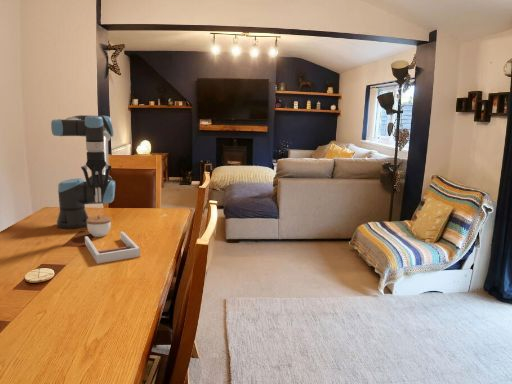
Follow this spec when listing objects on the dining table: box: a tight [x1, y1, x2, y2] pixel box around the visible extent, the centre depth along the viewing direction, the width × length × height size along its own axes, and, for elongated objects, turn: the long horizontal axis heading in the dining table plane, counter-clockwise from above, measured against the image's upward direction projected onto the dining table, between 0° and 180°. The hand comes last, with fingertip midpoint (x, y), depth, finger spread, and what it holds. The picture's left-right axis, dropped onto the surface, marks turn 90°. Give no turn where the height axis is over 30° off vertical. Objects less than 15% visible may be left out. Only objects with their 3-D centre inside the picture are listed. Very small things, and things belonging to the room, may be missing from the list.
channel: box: [84, 231, 141, 265], centre depth 165 cm, size 26×16×4 cm, turn 33°
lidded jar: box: [86, 215, 112, 238], centre depth 184 cm, size 11×11×9 cm
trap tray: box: [97, 246, 132, 254], centre depth 159 cm, size 8×13×2 cm, turn 123°
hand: (98, 201), depth 182 cm, fingers closed
